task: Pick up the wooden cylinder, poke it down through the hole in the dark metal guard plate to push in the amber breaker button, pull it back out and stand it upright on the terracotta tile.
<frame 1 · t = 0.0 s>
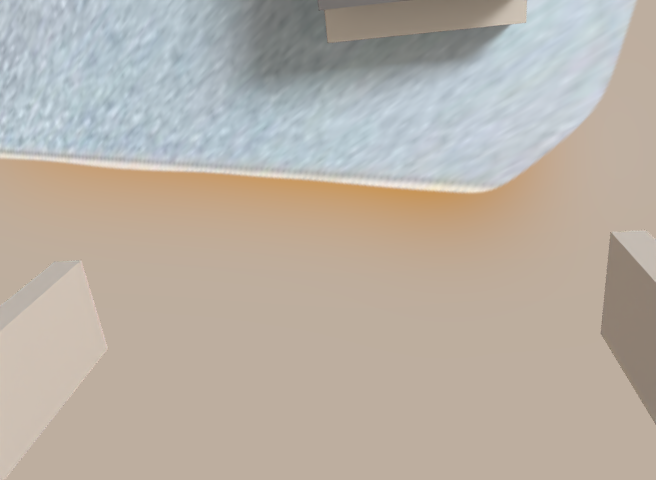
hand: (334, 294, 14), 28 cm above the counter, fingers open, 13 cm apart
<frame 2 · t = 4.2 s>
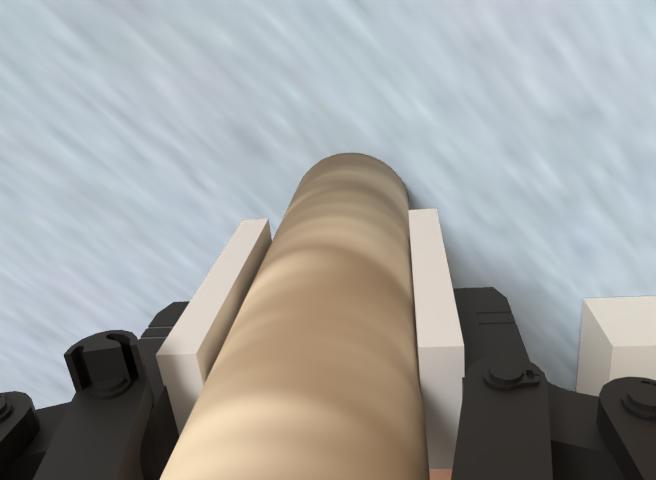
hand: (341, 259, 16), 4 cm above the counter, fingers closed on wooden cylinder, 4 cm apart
wooden cylinder: (351, 208, 20), on the counter, touching gripper
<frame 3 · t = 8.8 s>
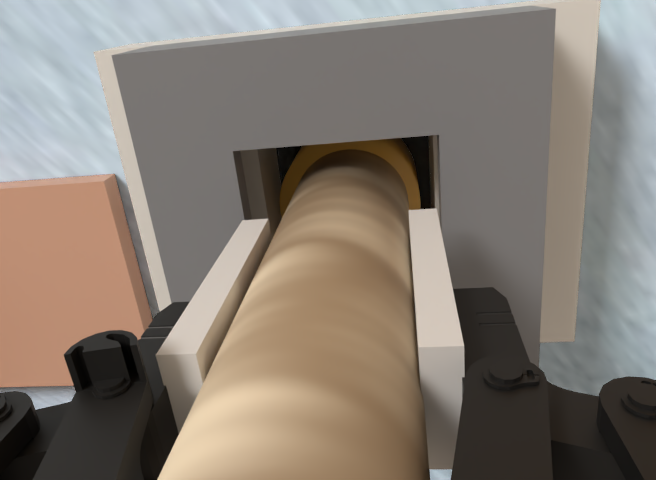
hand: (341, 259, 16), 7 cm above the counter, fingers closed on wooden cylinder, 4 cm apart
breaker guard: (354, 180, 23), on the counter
breaker button: (351, 192, 22), point 2 cm above the counter, slide at 1.5 cm, touching wooden cylinder
rest tile: (40, 284, 27), on the counter
wooden cylinder: (351, 204, 20), point 3 cm above the counter, touching breaker button, gripper
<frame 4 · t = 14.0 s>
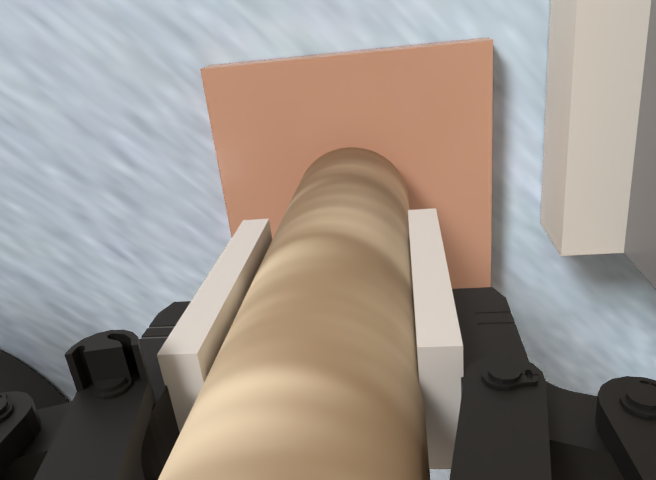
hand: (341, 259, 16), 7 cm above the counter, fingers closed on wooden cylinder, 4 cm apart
rest tile: (355, 185, 22), on the counter
wooden cylinder: (352, 201, 20), point 2 cm above the counter, touching gripper
when the fingers open (7 cm above the counter, at t = 14.0 s): wooden cylinder stays where it is, resting on rest tile.
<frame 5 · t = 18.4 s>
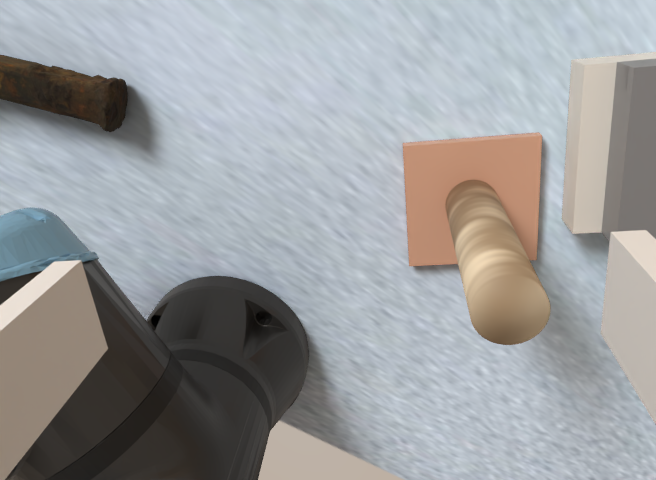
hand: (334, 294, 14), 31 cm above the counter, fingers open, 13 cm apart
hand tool: (16, 78, 45), on the counter
rest tile: (470, 200, 45), on the counter
wooden cylinder: (471, 204, 44), point 1 cm above the counter, touching rest tile
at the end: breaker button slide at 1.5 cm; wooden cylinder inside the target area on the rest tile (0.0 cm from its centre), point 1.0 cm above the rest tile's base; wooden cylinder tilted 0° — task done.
